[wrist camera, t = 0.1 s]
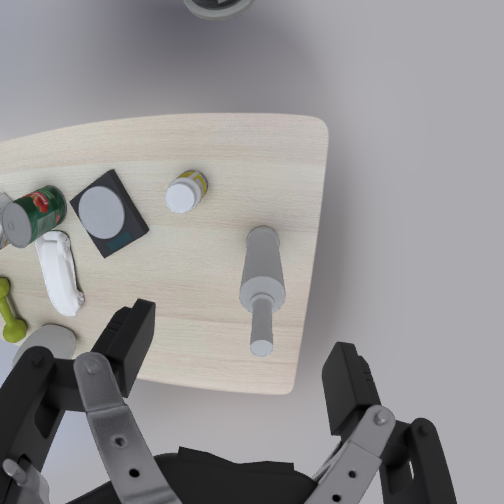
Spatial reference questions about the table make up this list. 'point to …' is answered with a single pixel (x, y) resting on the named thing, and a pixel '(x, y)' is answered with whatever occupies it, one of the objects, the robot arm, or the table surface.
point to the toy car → (59, 272)
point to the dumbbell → (10, 317)
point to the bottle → (262, 286)
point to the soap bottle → (50, 342)
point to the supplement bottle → (186, 191)
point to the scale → (108, 214)
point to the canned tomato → (33, 215)
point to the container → (3, 200)
